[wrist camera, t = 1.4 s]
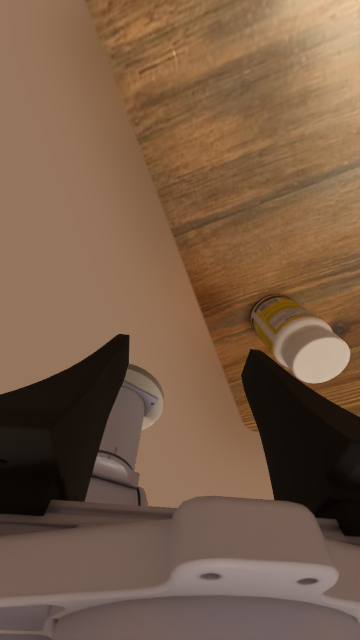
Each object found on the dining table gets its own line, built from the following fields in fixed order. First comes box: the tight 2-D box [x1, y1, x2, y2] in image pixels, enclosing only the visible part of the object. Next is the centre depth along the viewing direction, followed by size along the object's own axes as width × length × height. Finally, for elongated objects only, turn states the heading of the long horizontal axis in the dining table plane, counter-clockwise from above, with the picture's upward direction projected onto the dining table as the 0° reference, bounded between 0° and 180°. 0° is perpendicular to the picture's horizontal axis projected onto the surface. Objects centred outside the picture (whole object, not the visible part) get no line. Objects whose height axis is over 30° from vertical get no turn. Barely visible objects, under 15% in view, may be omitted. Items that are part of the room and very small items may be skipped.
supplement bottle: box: [251, 295, 350, 383], centre depth 18 cm, size 5×5×8 cm
